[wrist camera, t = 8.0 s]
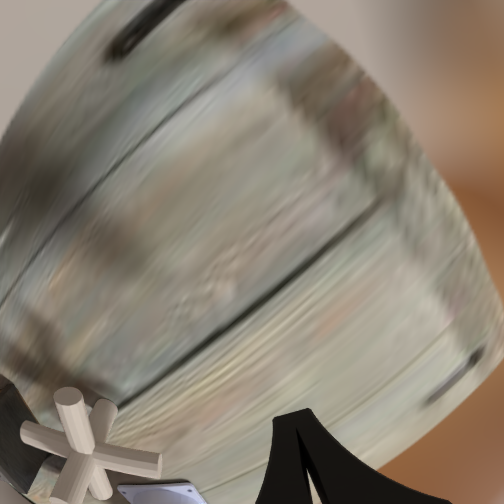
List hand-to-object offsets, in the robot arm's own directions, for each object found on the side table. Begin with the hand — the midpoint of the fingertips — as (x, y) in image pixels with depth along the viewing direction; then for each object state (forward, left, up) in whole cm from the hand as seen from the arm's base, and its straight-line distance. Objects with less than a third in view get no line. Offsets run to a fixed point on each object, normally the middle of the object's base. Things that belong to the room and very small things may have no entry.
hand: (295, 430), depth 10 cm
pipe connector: (-4, +13, -10) cm, 17 cm away
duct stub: (-5, +26, -9) cm, 28 cm away
